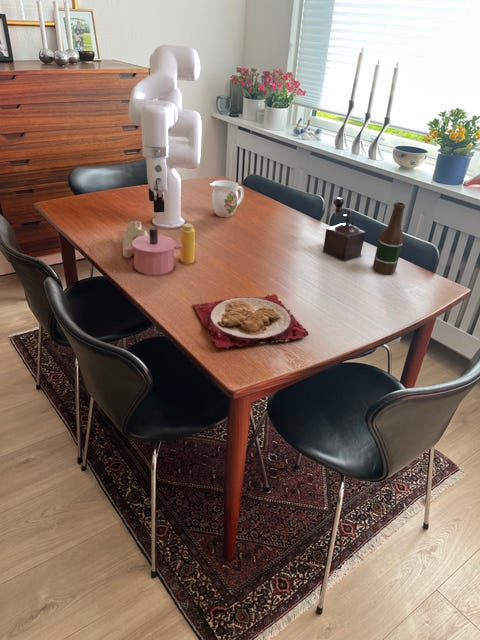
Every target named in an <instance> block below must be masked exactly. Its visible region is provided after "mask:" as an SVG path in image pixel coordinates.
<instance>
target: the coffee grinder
mask: <svg viewBox="0 0 480 640" xmlns="http://www.w3.org/2000/svg"><path fill="white" fill-rule="evenodd" d="M344 204H345V200H344V199H343V197H337V198H335V199H334V200H333V205H334V206H335V209H334V215H335V216H337V217H340V218H341V217H342V218H346V220H345V222H344V223H339V224H336V225H332V226H329V227H326V229H325V235H324V240H323V241H324V242H323V247H322V252H323V253H325V254H326V255H328V256H329V257H330V256H331V257H332V258H334V259H337V260H339V261H341V262H346V261H349V260H352V259H356V258H358V257H361V255H362V250H363V245H364V241H365V236H366V231H364V230H362V229H360V228H359V227H357V226H355V225H354V224H355V223H354V222H351V223H349V222H350V217H352V215H351V213H352V211H351V210H347V213H346V214H343V213H340V212H342V211H343V210H344V209H343V206H344Z"/></svg>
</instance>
